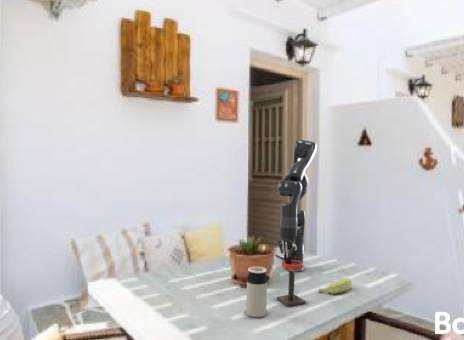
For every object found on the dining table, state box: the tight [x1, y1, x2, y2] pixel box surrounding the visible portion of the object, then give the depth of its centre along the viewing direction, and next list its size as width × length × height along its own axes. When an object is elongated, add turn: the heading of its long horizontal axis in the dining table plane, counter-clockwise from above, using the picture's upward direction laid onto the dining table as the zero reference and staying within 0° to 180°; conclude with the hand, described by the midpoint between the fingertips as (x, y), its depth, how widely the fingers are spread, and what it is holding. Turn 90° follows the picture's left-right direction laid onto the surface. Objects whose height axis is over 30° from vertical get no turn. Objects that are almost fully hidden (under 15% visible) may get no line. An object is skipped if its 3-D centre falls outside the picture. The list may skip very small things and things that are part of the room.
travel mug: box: [245, 266, 268, 318], centre depth 154 cm, size 8×8×18 cm
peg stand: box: [276, 270, 307, 308], centre depth 168 cm, size 9×9×13 cm
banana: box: [318, 276, 353, 295], centre depth 185 cm, size 14×6×20 cm
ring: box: [281, 260, 304, 271], centre depth 167 cm, size 9×9×2 cm
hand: (287, 264), depth 171 cm, fingers closed on ring, 1 cm apart
